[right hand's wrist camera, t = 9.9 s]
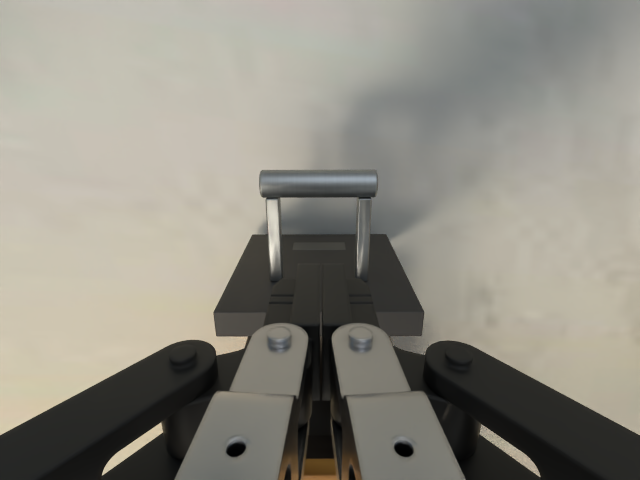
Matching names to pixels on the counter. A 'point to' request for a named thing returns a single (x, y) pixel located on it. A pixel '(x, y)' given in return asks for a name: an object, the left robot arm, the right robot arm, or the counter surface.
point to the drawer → (290, 250)
